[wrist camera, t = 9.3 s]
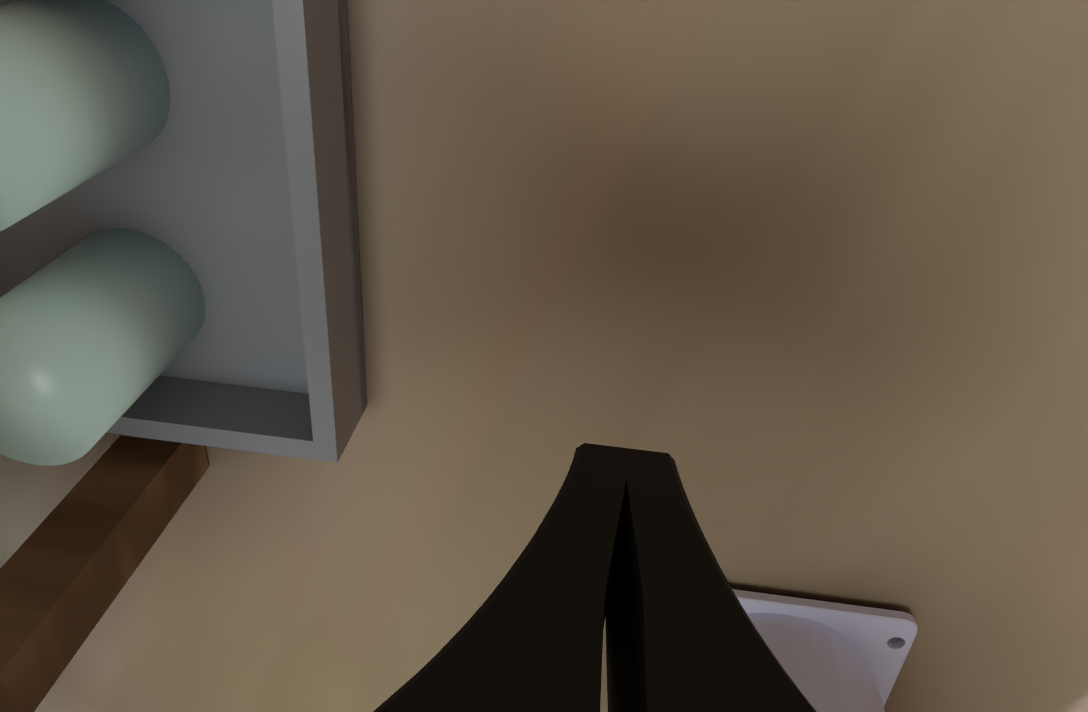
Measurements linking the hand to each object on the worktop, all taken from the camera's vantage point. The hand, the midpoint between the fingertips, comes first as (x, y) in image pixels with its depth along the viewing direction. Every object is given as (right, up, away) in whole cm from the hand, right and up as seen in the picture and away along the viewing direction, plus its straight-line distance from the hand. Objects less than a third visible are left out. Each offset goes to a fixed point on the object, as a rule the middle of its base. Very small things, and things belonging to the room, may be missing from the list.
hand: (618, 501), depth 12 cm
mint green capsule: (-11, +8, +7) cm, 16 cm away
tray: (-12, +6, +9) cm, 16 cm away
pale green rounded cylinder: (-12, +4, +10) cm, 16 cm away
